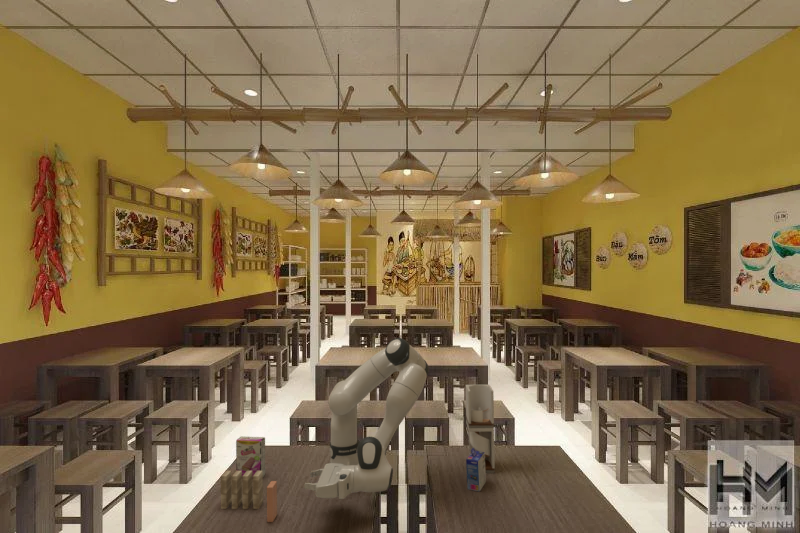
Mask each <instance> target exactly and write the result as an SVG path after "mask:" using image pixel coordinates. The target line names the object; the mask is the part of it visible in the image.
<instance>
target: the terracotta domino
mask: <svg viewBox="0 0 800 533" xmlns="http://www.w3.org/2000/svg"><path fill="white" fill-rule="evenodd" d="M277 516H278V482H277V480H271V481H270V482H269V483H268V485H267V486H266V517H267V518H266V521H267V523H274V521H275V519H276V517H277Z"/></svg>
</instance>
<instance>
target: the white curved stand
mask: <svg viewBox="0 0 800 533" xmlns="http://www.w3.org/2000/svg"><path fill="white" fill-rule="evenodd" d="M494 398H495V396H494V389H493V388H492V387H491V385H490V384H465V423H466V426H467V430H468V456H469V455H470V454H471V449H472V448H474V449H475V451H480V452H485V472H486V474H496V472H495V471H496V470H495V469H496V467H495V466H496V465H495V461H496V460H495V421H494V420H495V413H494V412H495V411H494V408H495V407H494V405H495V404H494V401H495V400H494ZM473 451H474V450H473Z"/></svg>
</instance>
